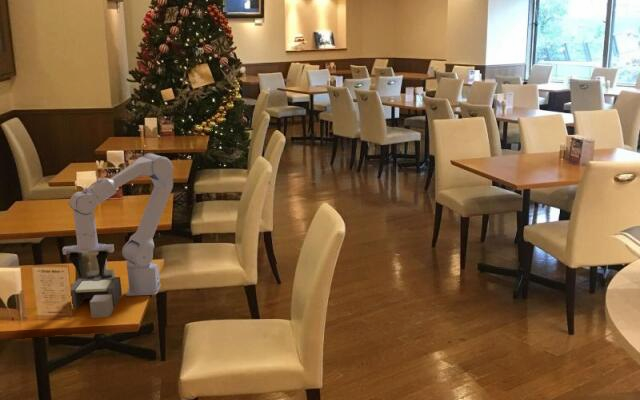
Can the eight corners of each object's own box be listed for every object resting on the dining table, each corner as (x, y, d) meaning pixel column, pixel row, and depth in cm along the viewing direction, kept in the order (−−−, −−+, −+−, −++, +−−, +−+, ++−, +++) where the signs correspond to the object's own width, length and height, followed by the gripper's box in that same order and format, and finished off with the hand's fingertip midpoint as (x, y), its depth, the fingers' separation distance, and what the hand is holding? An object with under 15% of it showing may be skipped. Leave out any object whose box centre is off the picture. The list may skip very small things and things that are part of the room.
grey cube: (113, 309, 196) (111, 294, 194) (109, 317, 191) (107, 301, 190) (96, 310, 195) (94, 295, 194) (91, 318, 191) (89, 302, 189)
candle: (88, 277, 222) (84, 249, 219) (101, 272, 226) (97, 244, 224) (99, 280, 219) (95, 251, 216) (112, 274, 224) (108, 247, 221)
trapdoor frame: (122, 294, 206) (119, 276, 205) (114, 306, 198) (112, 288, 196) (80, 296, 206) (78, 278, 204) (71, 308, 197) (68, 290, 195)
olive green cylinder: (88, 288, 212) (84, 256, 209) (71, 287, 214) (67, 255, 211) (98, 281, 218) (94, 250, 215) (81, 280, 219) (77, 249, 216)
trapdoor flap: (116, 281, 208) (115, 269, 207) (106, 296, 197) (105, 283, 196) (87, 282, 208) (86, 270, 207) (76, 297, 196) (74, 285, 195)
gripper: (56, 237, 190) (62, 281, 193) (107, 235, 190) (112, 279, 194) (64, 230, 196) (70, 272, 200) (113, 228, 197) (118, 270, 201)
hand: (91, 275), depth 197 cm, fingers open, 5 cm apart
